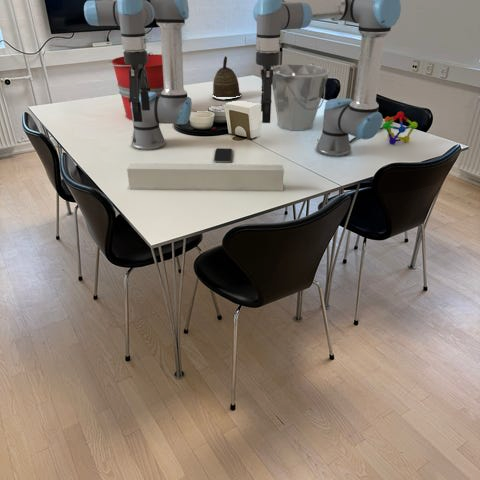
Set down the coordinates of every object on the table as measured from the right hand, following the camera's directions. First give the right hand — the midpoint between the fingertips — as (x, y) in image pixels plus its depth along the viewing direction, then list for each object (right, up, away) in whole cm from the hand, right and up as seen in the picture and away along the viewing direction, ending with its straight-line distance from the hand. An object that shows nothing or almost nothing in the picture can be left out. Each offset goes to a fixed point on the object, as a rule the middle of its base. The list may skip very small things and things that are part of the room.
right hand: (265, 116), depth 154 cm
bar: (-22, -23, +15) cm, 35 cm away
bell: (-17, +48, +128) cm, 137 cm away
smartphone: (-16, -6, +41) cm, 45 cm away
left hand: (-43, 0, 0) cm, 43 cm away
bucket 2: (+20, +18, +79) cm, 84 cm away
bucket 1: (-60, +27, +94) cm, 115 cm away
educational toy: (+65, +3, +57) cm, 87 cm away
